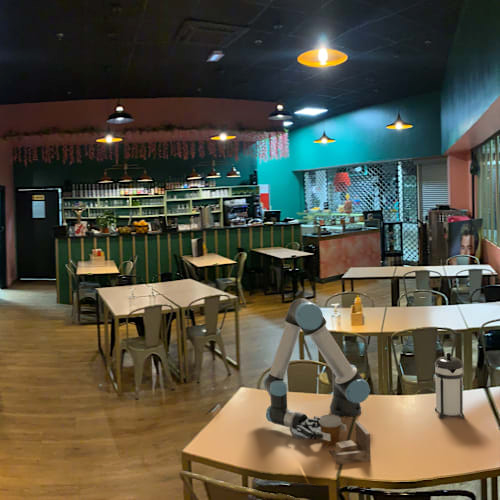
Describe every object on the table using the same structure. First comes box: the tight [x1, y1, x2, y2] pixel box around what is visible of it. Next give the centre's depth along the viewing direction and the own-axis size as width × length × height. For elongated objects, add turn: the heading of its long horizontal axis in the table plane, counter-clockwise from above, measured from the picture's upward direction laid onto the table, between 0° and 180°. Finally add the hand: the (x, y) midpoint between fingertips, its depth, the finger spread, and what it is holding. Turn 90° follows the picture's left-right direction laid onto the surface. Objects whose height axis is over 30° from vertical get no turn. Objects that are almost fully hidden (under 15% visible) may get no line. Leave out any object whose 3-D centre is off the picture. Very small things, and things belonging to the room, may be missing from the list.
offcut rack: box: [328, 421, 372, 465], centre depth 222 cm, size 14×13×12 cm
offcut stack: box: [334, 439, 358, 453], centre depth 222 cm, size 8×6×5 cm
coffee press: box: [434, 352, 465, 420], centre depth 262 cm, size 17×16×30 cm
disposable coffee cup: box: [319, 414, 342, 447], centre depth 234 cm, size 10×10×12 cm
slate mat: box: [289, 423, 321, 440], centre depth 249 cm, size 14×14×1 cm
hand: (338, 432), depth 232 cm, fingers open, 11 cm apart
